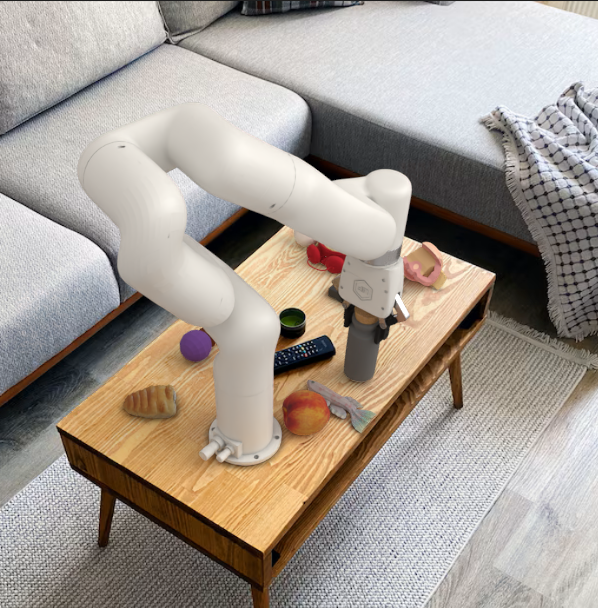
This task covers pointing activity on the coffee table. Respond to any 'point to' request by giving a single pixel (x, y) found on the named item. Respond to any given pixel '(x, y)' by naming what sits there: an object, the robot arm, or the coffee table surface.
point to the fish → (342, 405)
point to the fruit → (305, 412)
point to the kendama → (196, 345)
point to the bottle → (361, 347)
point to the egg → (303, 239)
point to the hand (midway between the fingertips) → (365, 330)
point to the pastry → (152, 402)
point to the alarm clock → (326, 258)
